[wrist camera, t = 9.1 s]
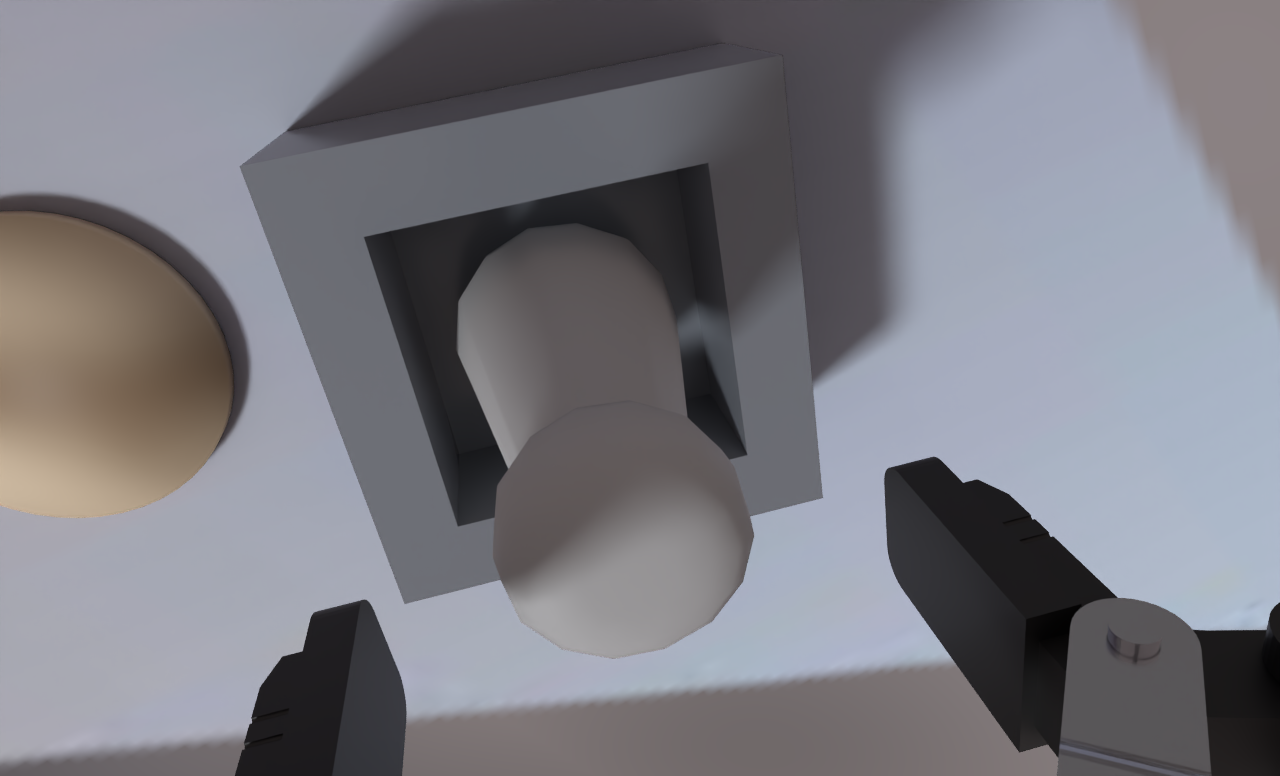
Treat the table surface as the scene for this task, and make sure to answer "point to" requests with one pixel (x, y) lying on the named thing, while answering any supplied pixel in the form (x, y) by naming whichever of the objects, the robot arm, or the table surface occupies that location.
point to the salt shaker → (597, 447)
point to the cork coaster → (101, 370)
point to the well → (500, 210)
